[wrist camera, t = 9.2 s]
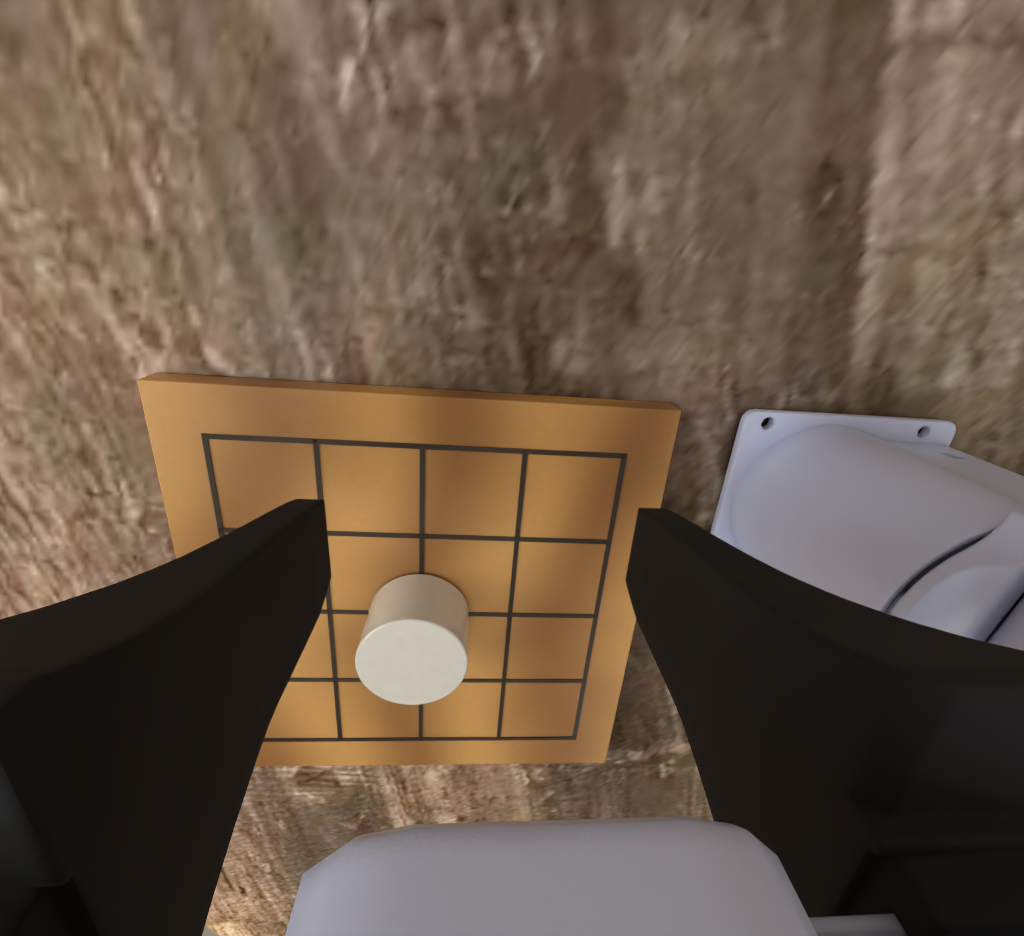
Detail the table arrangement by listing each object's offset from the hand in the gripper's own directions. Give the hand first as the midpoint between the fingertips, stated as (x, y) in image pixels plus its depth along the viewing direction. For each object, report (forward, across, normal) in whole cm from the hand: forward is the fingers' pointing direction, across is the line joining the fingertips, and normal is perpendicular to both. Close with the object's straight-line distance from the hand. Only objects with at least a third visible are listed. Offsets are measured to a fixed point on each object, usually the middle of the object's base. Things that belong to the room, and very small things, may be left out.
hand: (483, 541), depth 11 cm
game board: (+9, +2, +9) cm, 13 cm away
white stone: (+8, +2, +9) cm, 12 cm away
